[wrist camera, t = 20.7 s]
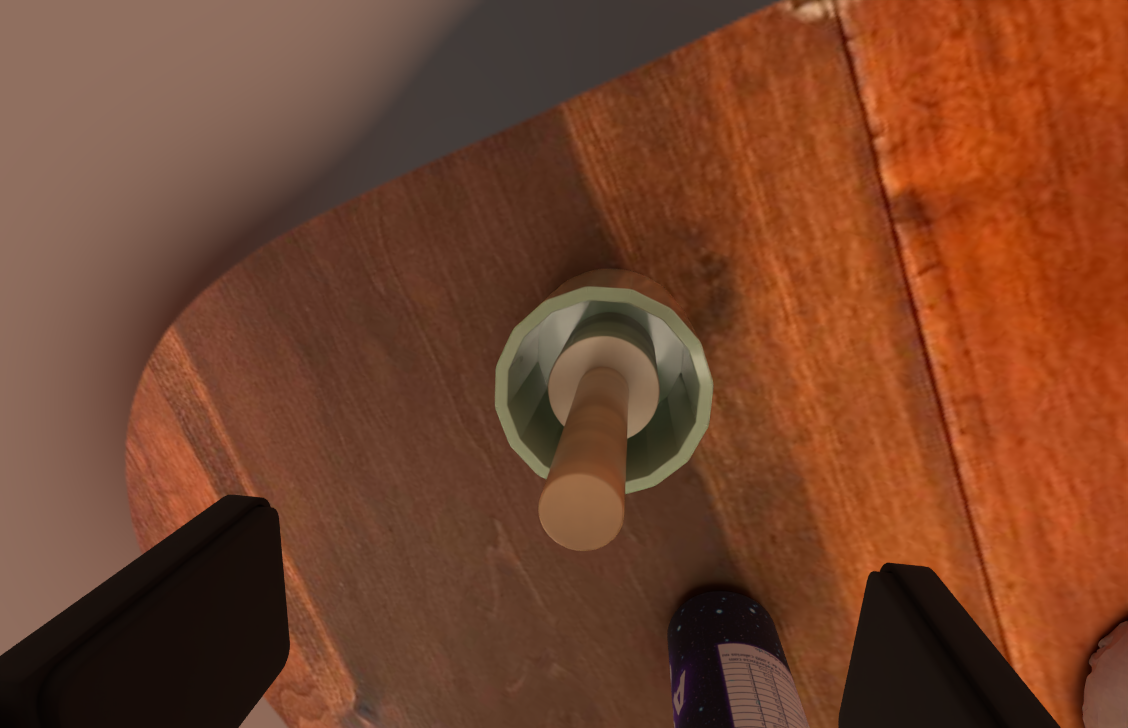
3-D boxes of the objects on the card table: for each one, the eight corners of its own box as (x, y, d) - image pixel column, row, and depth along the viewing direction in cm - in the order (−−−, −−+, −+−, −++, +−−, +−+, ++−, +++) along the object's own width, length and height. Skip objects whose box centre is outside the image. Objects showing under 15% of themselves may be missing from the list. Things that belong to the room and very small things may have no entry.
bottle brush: (567, 308, 29) (489, 414, 13) (659, 315, 28) (686, 431, 13) (562, 395, 30) (485, 585, 15) (650, 403, 30) (668, 607, 14)
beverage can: (658, 587, 33) (670, 791, 21) (764, 574, 32) (839, 780, 20) (676, 675, 34) (697, 914, 22) (779, 665, 33) (857, 909, 21)
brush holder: (533, 263, 29) (497, 280, 21) (700, 273, 28) (724, 295, 21) (527, 418, 31) (492, 485, 23) (683, 432, 30) (699, 506, 23)
